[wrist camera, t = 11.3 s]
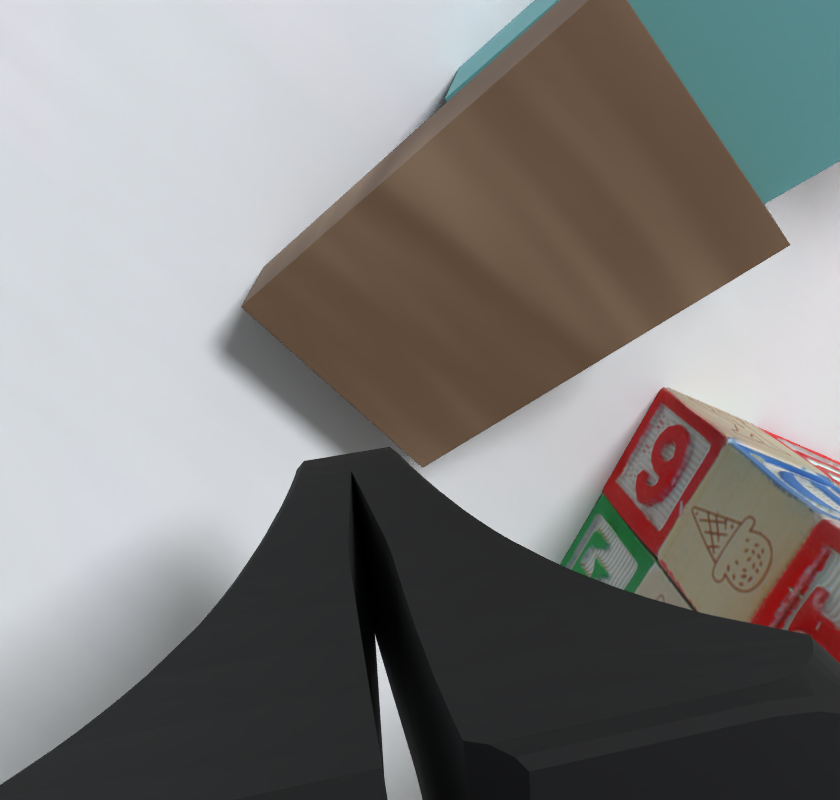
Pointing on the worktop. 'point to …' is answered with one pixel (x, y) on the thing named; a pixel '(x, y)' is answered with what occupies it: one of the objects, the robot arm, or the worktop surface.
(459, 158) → the walnut domino
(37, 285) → the worktop surface
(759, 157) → the teal domino
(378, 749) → the robot arm
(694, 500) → the stack of blocks
